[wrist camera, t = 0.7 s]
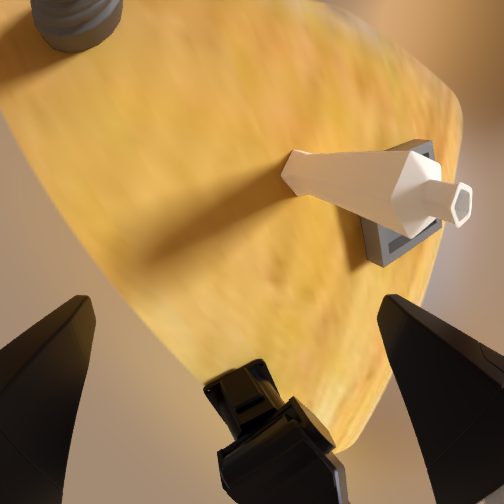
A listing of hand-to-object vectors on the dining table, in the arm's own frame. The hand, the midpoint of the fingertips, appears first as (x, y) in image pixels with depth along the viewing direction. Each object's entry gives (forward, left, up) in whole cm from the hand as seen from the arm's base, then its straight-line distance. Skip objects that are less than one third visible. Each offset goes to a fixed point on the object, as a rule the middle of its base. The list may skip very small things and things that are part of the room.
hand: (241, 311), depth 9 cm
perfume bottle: (-1, -11, -15) cm, 19 cm away
